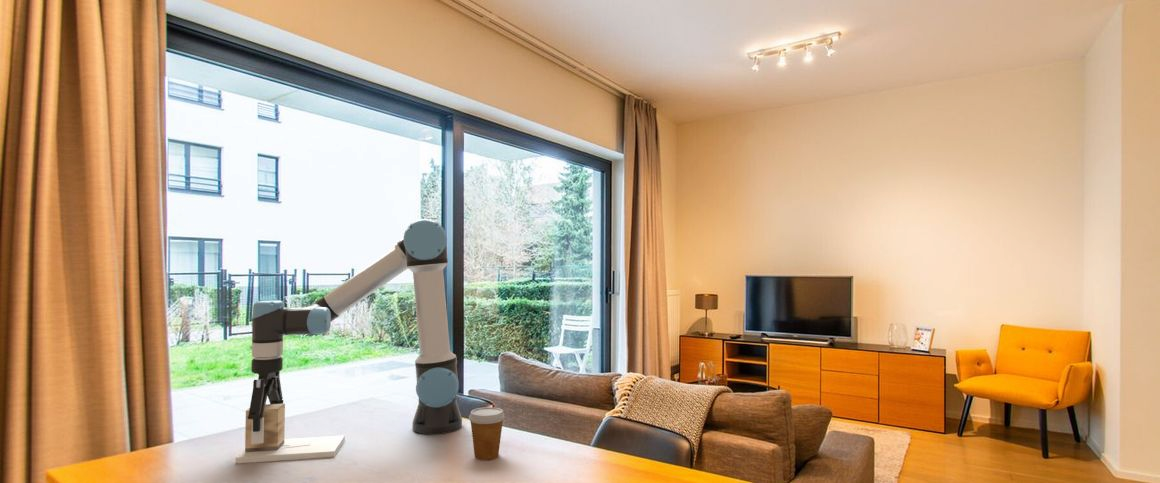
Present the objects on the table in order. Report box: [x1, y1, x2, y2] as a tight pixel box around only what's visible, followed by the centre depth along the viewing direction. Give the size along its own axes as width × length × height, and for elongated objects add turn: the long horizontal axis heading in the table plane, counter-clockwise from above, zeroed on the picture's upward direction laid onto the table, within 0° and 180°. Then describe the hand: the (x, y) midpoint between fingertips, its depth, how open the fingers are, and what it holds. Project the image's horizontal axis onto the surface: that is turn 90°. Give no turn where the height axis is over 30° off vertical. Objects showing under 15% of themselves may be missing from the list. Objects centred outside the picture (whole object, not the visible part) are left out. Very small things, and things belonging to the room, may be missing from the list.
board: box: [235, 435, 346, 464], centre depth 157 cm, size 24×14×2 cm, turn 102°
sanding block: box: [244, 403, 286, 452], centre depth 156 cm, size 8×6×11 cm
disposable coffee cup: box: [468, 406, 505, 461], centre depth 153 cm, size 10×10×12 cm
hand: (266, 435), depth 156 cm, fingers open, 13 cm apart
